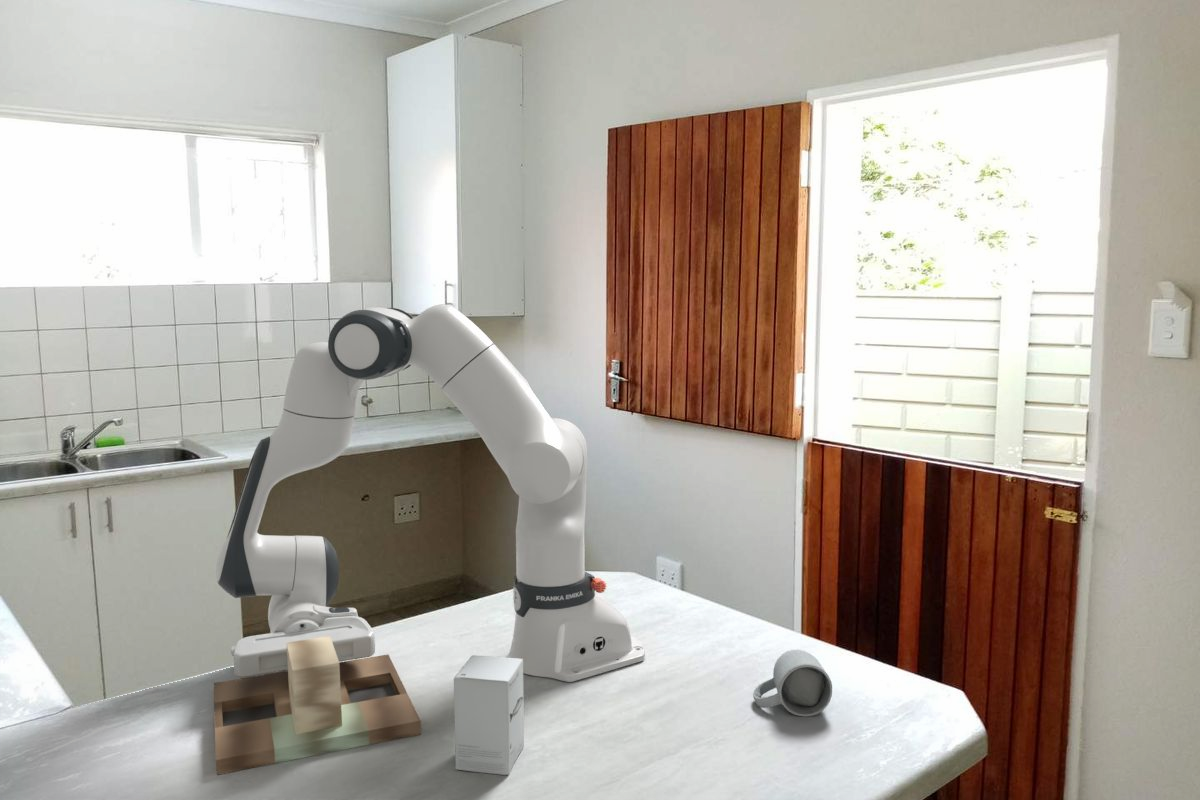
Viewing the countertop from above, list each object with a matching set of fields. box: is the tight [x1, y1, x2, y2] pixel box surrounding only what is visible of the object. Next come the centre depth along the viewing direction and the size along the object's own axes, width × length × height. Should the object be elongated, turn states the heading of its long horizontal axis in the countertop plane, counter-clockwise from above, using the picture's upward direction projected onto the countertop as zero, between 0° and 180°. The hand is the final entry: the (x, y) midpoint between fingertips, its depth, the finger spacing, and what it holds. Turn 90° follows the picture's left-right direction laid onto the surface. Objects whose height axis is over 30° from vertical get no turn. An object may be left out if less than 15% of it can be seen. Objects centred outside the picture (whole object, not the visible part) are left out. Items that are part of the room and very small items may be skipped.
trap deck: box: [213, 654, 422, 776], centre depth 133 cm, size 26×24×2 cm
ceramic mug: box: [752, 649, 833, 718], centre depth 135 cm, size 11×8×8 cm
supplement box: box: [453, 654, 525, 776], centre depth 120 cm, size 7×7×13 cm
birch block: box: [287, 636, 342, 734], centre depth 128 cm, size 6×10×9 cm, turn 23°
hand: (310, 668), depth 133 cm, fingers closed
